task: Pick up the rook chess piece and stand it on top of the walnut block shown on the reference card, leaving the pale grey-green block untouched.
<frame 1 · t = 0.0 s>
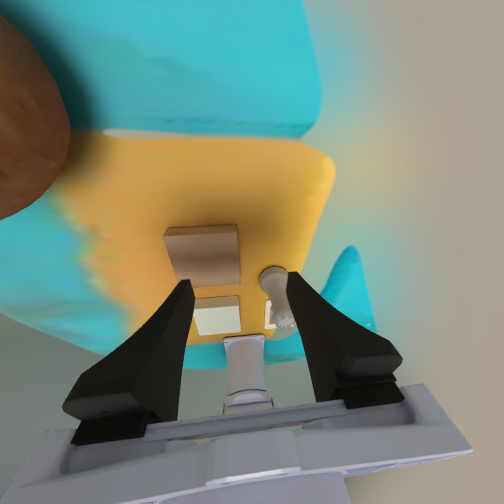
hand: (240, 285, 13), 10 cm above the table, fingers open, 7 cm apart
rook chess piece: (273, 275, 27), on the table
grey-green block: (218, 311, 30), on the table
reference card: (281, 312, 32), on the table
butternut squash: (12, 108, 14), on the table
walnut block: (207, 253, 24), on the table
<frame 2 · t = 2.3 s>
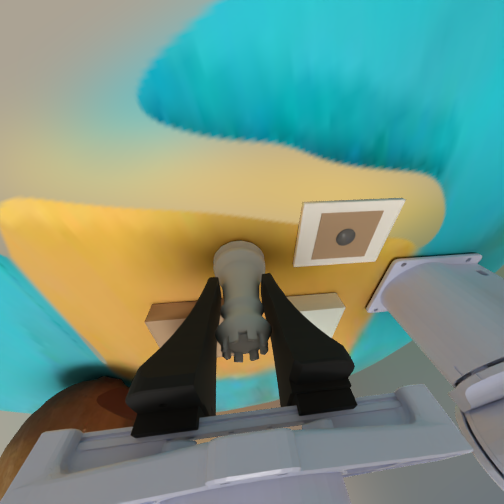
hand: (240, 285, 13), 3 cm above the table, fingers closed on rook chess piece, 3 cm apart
rook chess piece: (238, 257, 16), on the table, touching gripper
grey-green block: (300, 314, 22), on the table
reference card: (342, 234, 15), on the table
butternut squash: (113, 382, 27), on the table
walnut block: (199, 324, 21), on the table
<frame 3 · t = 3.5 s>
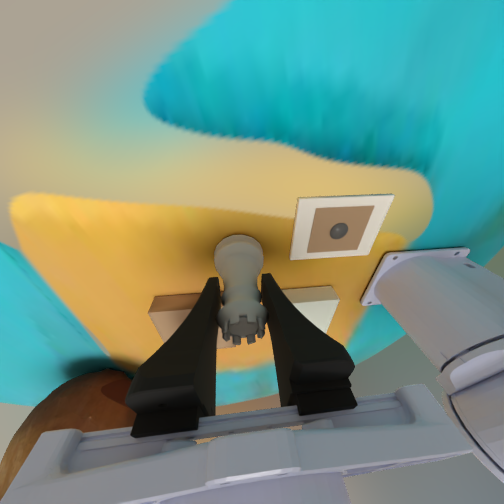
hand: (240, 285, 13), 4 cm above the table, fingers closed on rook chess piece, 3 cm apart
rook chess piece: (238, 251, 17), on the table, touching gripper
grey-green block: (297, 307, 22), on the table
reference card: (335, 228, 16), on the table
butternut squash: (116, 375, 28), on the table
walnut block: (200, 316, 22), on the table
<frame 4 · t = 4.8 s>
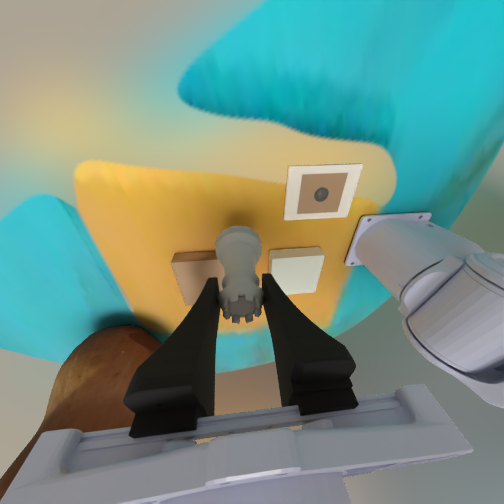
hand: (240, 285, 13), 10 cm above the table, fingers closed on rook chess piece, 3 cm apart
rook chess piece: (238, 242, 18), point 5 cm above the table, touching gripper
grey-green block: (291, 267, 27), on the table
reference card: (319, 193, 21), on the table
butternut squash: (137, 333, 33), on the table
walnut block: (210, 273, 26), on the table
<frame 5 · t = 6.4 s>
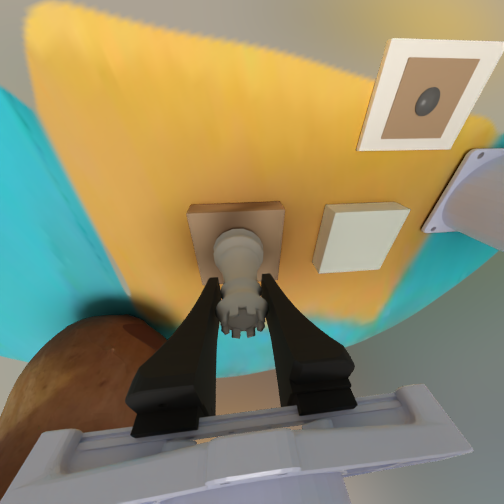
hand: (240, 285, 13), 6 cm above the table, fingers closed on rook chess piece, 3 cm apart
rook chess piece: (238, 246, 17), point 2 cm above the table, touching gripper, walnut block
grey-green block: (349, 234, 19), on the table
reference card: (420, 103, 13), on the table
butternut squash: (135, 325, 25), on the table
walnut block: (238, 240, 19), on the table
when the fingers open (6 cm above the table, at t = 7.1 s): rook chess piece stays where it is, resting on walnut block.
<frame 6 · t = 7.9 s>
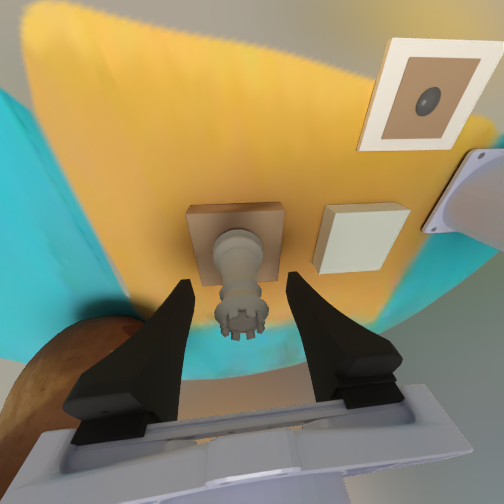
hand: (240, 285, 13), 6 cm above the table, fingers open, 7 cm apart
rook chess piece: (237, 247, 17), point 2 cm above the table, touching walnut block
grey-green block: (349, 235, 19), on the table
reference card: (421, 103, 13), on the table
butternut squash: (134, 326, 25), on the table
walnut block: (237, 241, 18), on the table
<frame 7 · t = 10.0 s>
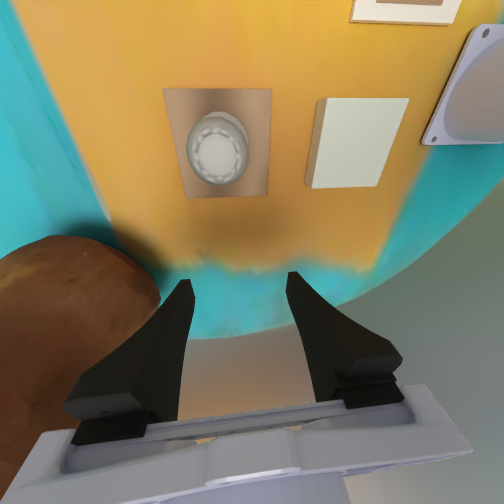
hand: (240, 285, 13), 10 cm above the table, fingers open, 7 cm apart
rook chess piece: (222, 144, 15), point 2 cm above the table, touching walnut block
grey-green block: (344, 146, 18), on the table
butternut squash: (119, 264, 24), on the table
walnut block: (224, 148, 17), on the table
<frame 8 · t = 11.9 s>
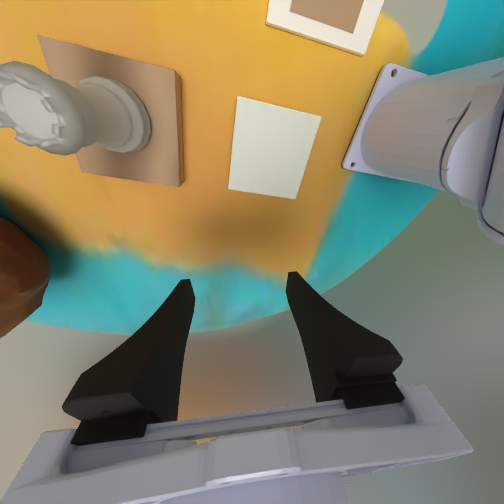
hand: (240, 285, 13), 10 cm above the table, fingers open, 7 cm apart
rook chess piece: (122, 119, 14), point 2 cm above the table, touching walnut block
grey-green block: (267, 153, 18), on the table
butternut squash: (10, 236, 20), on the table
walnut block: (134, 126, 16), on the table
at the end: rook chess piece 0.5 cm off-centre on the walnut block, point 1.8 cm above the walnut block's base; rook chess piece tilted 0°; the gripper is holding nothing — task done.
